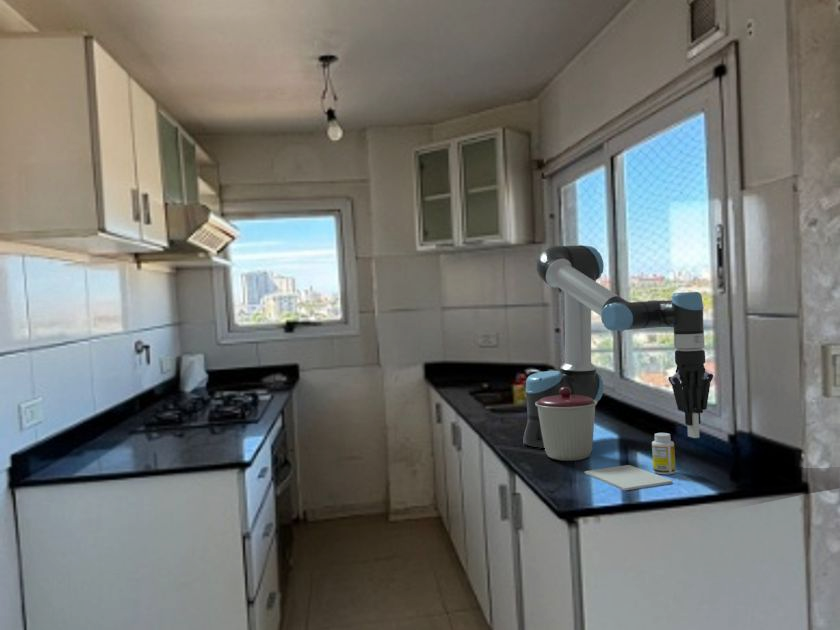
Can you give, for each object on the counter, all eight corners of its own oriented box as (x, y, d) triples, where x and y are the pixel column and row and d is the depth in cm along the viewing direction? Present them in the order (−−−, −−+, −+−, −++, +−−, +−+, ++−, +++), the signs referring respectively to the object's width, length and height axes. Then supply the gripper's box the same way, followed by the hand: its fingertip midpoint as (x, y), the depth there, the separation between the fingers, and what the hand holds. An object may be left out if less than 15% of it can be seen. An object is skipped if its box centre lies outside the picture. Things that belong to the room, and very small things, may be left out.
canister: (526, 455, 199) (523, 386, 198) (576, 447, 205) (573, 381, 205) (559, 467, 182) (555, 393, 181) (612, 459, 188) (609, 387, 188)
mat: (584, 473, 175) (584, 471, 175) (629, 467, 179) (629, 464, 179) (624, 490, 157) (624, 488, 157) (672, 483, 161) (672, 480, 161)
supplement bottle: (669, 469, 174) (667, 431, 174) (679, 474, 169) (677, 435, 169) (649, 470, 174) (647, 432, 174) (659, 476, 168) (657, 436, 168)
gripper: (678, 351, 168) (683, 442, 169) (719, 348, 172) (723, 436, 172) (660, 350, 175) (664, 437, 176) (699, 347, 179) (703, 431, 180)
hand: (693, 436), depth 174 cm, fingers closed
